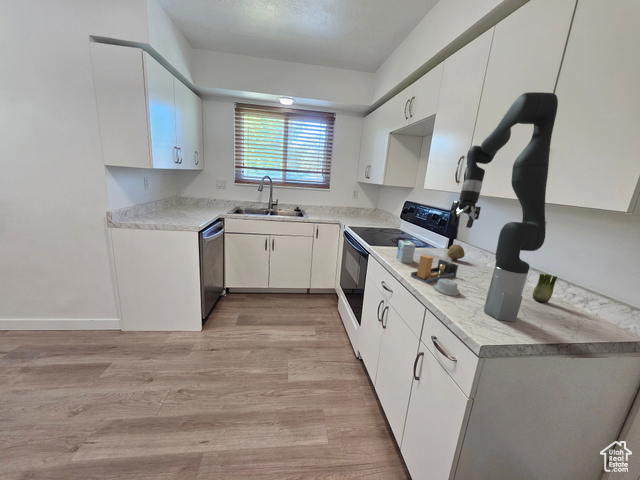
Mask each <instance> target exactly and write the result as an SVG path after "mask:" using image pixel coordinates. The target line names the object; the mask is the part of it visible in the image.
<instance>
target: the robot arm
mask: <svg viewBox="0 0 640 480" xmlns="http://www.w3.org/2000/svg"><path fill="white" fill-rule="evenodd" d="M558 106H559V100H558V96H557V94H555V93H553V92H538V91H537V92H535V91H534V92H533V91H532V92H525V93H522V94H521V95H519V96H518V97H517V98H516V99H515V100H514V101H513V103H512V104H511V105H510V107H509V109H508V110H507V111H506V113H505V114H504V115H503V117H502V119H501V120H500V121H499V123H498V124H497V126H496V127H495V128H494V129H493V130H492V132H491V133H490V134H489V135H488V136H486V138H485V139H484V140H483V141H482V142H481V145H473V146H471V147H470V148H469V149H468V151H467V155H466V165H467V168H466V169H467V171H466V175H465V179H464V181H463V185H462V188H461V192H460V195H459V198H458V199H459V200H453V202H452V204H451V207H450V210H449V214H451V215H452V219H451V225H455V226H456V225H457V224H458V220H459V216H460V215H461V214H466V216H467V218H468V220H467V223H466V225H465V227H466V228H469V229H471V228H472V227H473V224H474V221H475V220H479V217H480V213H481V209H482V208H481V206H476V204H477V203H478V202H479V198H480V194H481V191H482V186H483V180H484V178H485V174H486V171H485V169H484V168H482V167H480V166H478V165H477V164H483V165H488V164H489V163H491V162H492V161H493V160H494V158H495V156H496V154H497V152H499V150H501V149H502V148H503V147H504V146H505V145H507V143H508V142H509V141H510V139H511V135H512V131H511V130H512V127H514V126H515V125H517V124H522V125H533V132H532V134H531V135H532V136H531V139H530V141H529V142H528V144H527V145H526V147H525V148H524V149H523V150H522V151H521V152H520V153H519V154H518V156H516V159H515V160H514V162H513V165H512V173H511V187H512V190H513V192H514V195H515V196H516V198H517V200H518V201H519V204H520V207H521V208H522V209H521V213H522V219H521V222H520V221H519V222H518V221H510V222H507V223H505V224H504V225H502V228H501V229H500V232H499V236H498V241H497V246H496V250H495V265H494V269H493V272H492V277H491V280H490V282H489V283H490V284H489V287H488V290H487V291H488V292H487V295H486V299H485V303H484V307H483V312H484V313H485V314H487V315H489V316H491V317H493V318H495V319H496V320H499V321H506V322H512V323H513V322H516V321H517V318H518V314H519V311H520V308H521V304H522V301H523V297H524V296H522V295H523V291H524V288H525V285H526V281H527V277H528V274H529V271H530V264H529V263H528V262H526V261H525V260H522V259H521V258H520V254H521V251H525V252H535V251H538V250H539V249H541V247H542V246H543V245H544V244H545V239H546V232H547V231H546V197H547V193H546V191H547V184H548V183H547V182H548V177H549V176H548V175H549V163H550V152H551V143H552V138H553V137H552V136H553V132H554V126H555V123H556V118H557V112H558Z"/></svg>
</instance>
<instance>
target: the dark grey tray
mask: <svg viewBox="0 0 640 480" xmlns="http://www.w3.org/2000/svg"><path fill="white" fill-rule="evenodd" d="M417 272H418V270H416V271H413V272H410V277H412V278H414V279H416V280H417V281H421V282H423V283H425V284H430V283H434V282H438V279H441V278H442V279H443V278H444V279H450V278H453V277H454V274H455V273H450V274H449V273H447V272H444V274H440V273H439V267H438V266H436V267H431V272H430V274H433V273H439V274H438V276H437V277H432V278H430V277H429V278H426V279H423V278H420V277H418V276H417ZM454 278H455V277H454Z"/></svg>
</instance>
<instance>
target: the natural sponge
mask: <svg viewBox="0 0 640 480" xmlns="http://www.w3.org/2000/svg"><path fill="white" fill-rule="evenodd" d="M447 257H448V258H450V259H451V260H452V261H457V260H460V259H462V258H464V257H465V250H464V247H462V246H461V245H460V244H452V245H450V246H449V247H448V251H447Z"/></svg>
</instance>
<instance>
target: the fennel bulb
mask: <svg viewBox="0 0 640 480" xmlns="http://www.w3.org/2000/svg"><path fill="white" fill-rule="evenodd" d="M557 279H558V275H557V276H556V275H553V276H552V275H551V274H548V273H539V276H538V282H537V284H536V285H535V287H534V289H533V291H532V299H533V300H534V301H537V302H540V303H545V304H546V303H548V302H549V301H550V299H551V298H552V295H553V293H554V290H555V289H554V287H555V284H556V281H557Z"/></svg>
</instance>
